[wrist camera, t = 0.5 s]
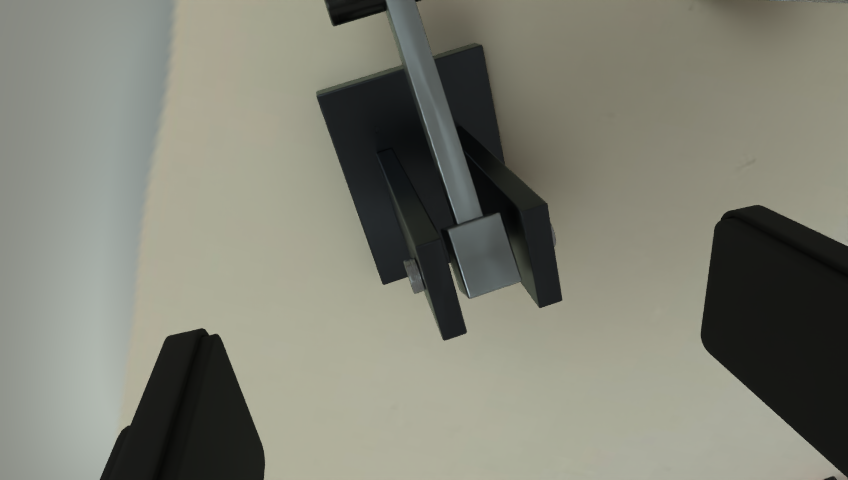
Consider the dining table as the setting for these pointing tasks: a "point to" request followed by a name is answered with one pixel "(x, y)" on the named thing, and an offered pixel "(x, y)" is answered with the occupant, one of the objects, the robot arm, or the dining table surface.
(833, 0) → the beverage can
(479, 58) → the bracket
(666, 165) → the dining table surface
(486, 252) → the lever
